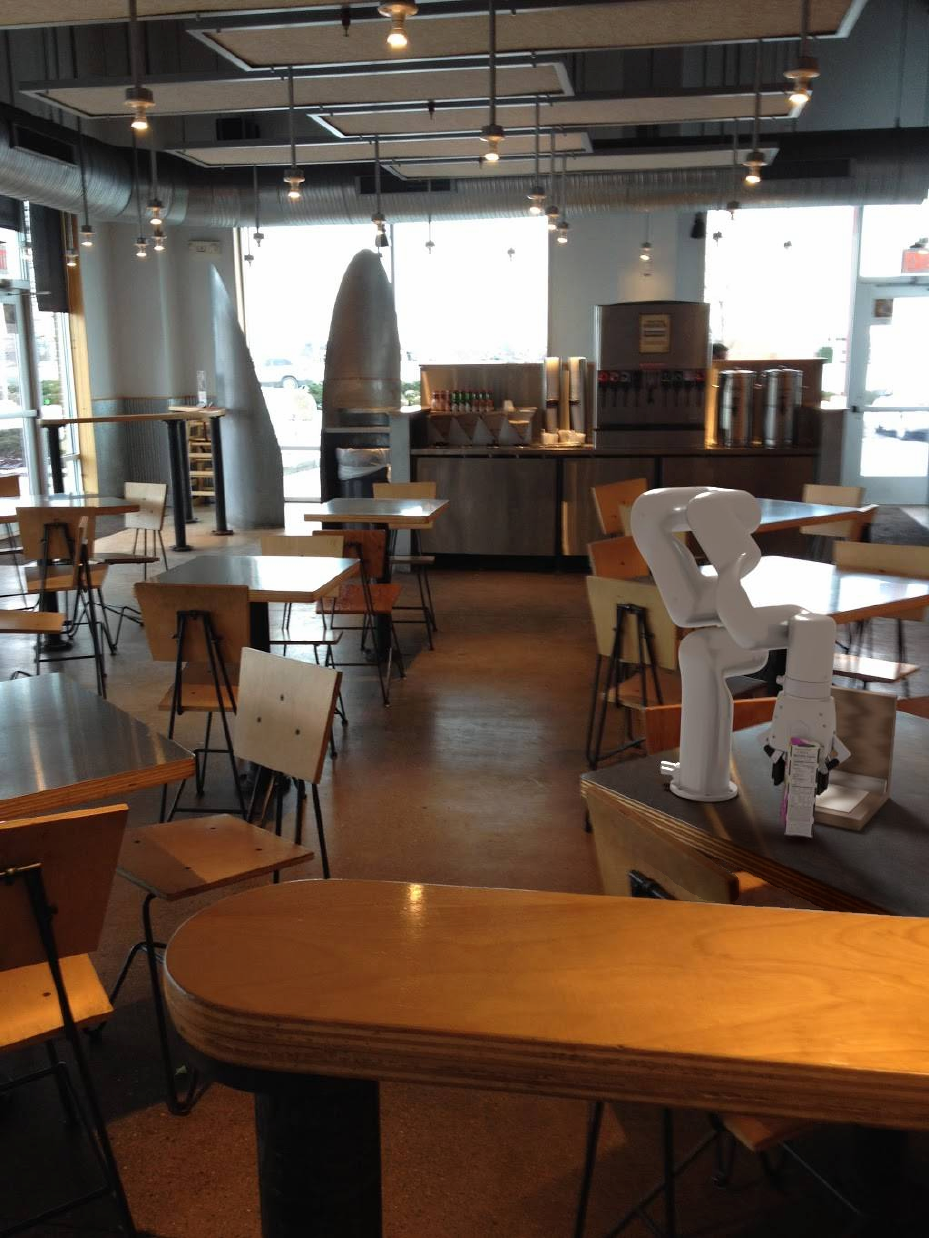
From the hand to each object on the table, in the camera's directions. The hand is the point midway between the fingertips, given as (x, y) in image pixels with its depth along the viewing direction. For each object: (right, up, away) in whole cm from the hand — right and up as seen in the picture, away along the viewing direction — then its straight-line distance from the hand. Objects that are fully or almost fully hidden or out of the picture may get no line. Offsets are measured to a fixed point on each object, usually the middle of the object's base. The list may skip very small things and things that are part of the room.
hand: (799, 787), depth 189 cm
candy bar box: (0, -7, +2) cm, 7 cm away
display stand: (+11, -6, +15) cm, 20 cm away
